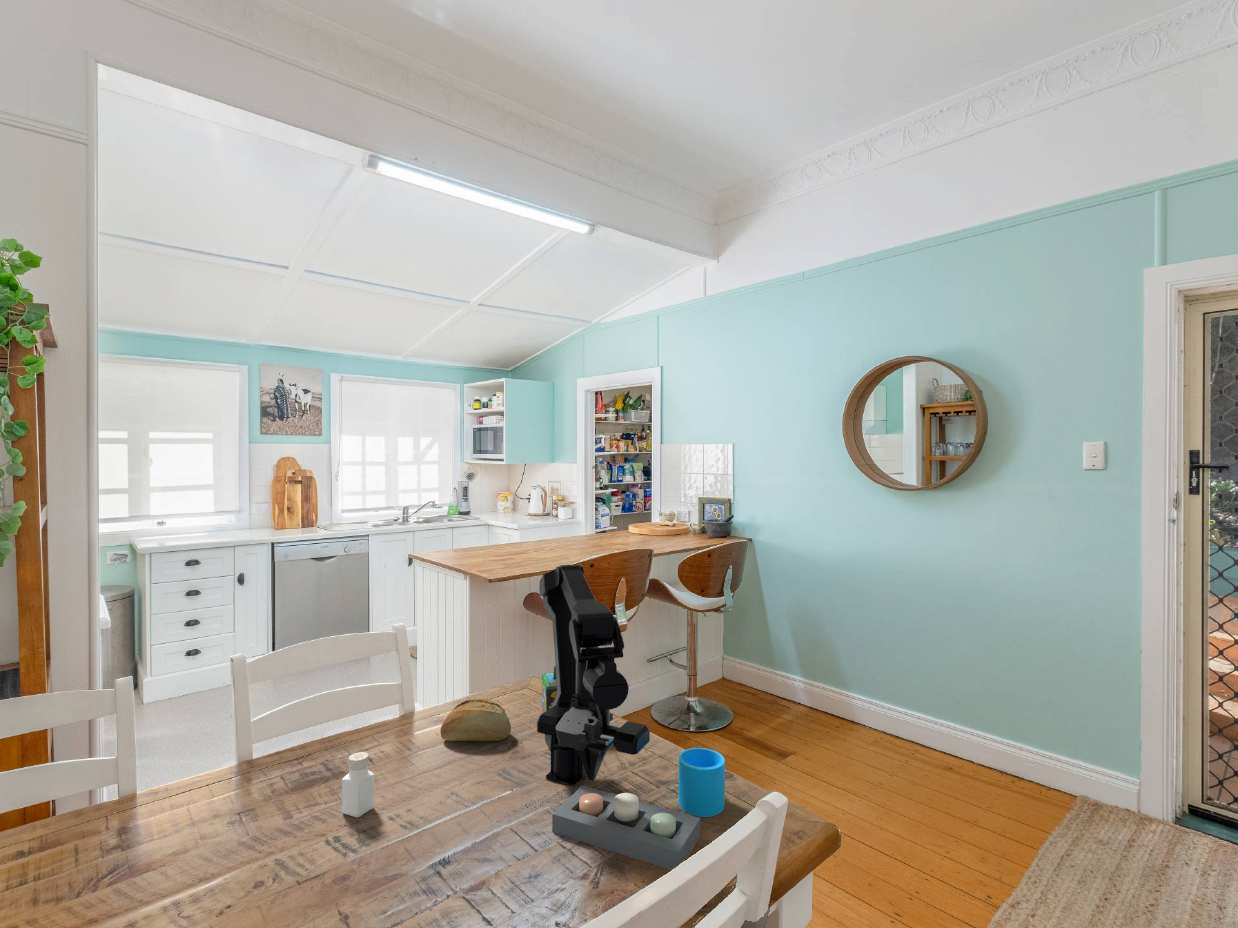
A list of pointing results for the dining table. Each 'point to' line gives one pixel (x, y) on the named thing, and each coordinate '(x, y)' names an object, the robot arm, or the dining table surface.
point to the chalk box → (548, 690)
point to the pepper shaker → (358, 786)
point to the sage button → (663, 825)
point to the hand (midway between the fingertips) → (591, 779)
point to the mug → (701, 782)
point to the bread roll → (476, 722)
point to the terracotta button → (591, 804)
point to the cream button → (626, 806)
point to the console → (627, 830)
